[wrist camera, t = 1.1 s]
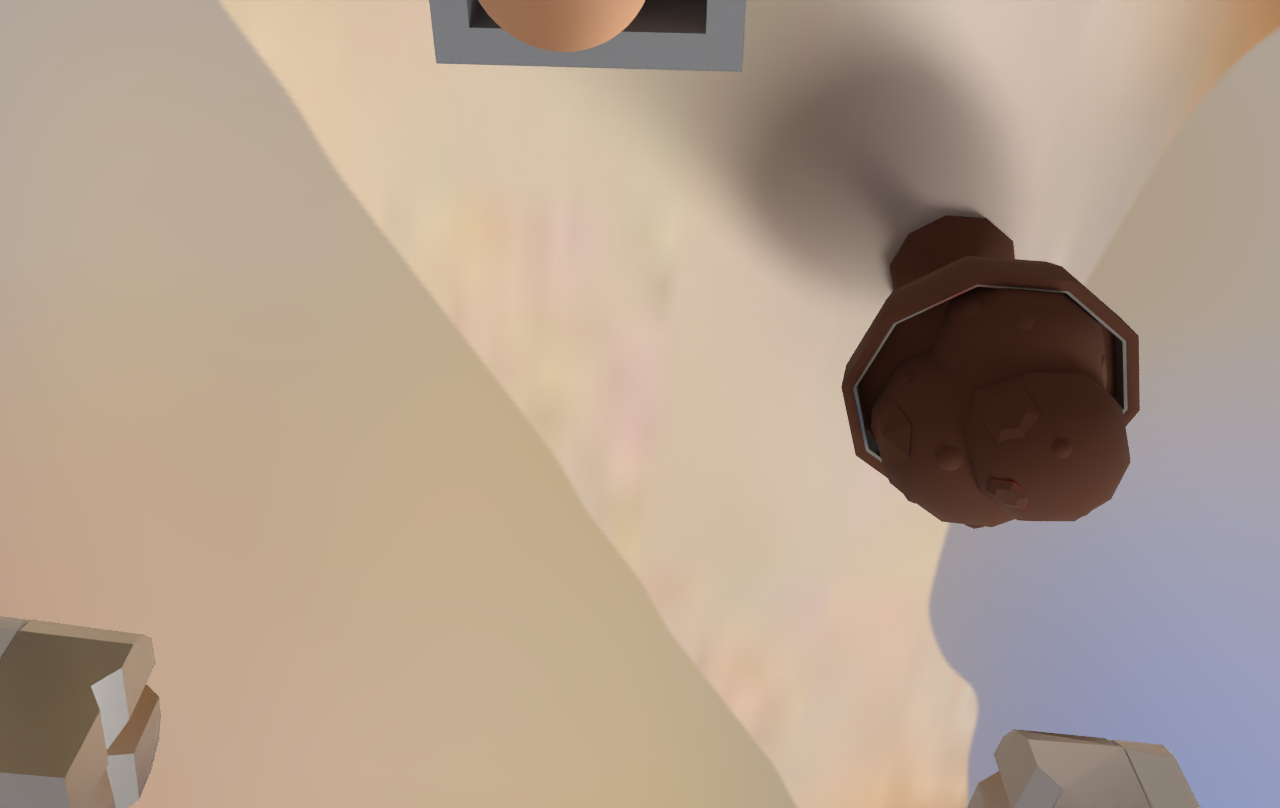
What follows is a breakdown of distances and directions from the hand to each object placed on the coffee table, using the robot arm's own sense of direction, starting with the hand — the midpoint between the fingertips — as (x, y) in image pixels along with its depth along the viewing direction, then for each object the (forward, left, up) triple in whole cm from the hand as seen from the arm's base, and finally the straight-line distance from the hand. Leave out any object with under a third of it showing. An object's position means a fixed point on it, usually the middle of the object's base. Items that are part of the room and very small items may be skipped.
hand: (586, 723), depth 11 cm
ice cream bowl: (-12, +16, -37) cm, 42 cm away
